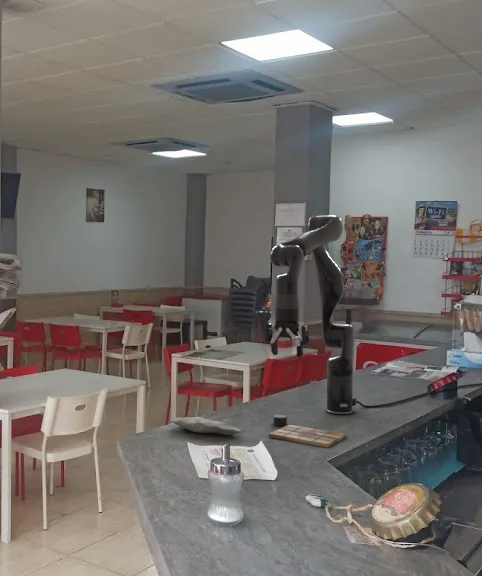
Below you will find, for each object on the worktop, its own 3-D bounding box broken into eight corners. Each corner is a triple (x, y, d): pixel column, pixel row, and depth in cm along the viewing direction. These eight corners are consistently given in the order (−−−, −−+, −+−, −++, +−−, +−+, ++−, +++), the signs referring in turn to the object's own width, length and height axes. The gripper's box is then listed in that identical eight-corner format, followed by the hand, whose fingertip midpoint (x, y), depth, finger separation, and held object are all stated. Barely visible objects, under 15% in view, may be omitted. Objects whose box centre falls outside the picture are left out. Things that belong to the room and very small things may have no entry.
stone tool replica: (163, 427, 242) (230, 438, 228) (165, 412, 243) (232, 422, 228) (184, 429, 254) (249, 439, 240) (186, 414, 255) (251, 424, 241)
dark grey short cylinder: (277, 422, 254) (277, 413, 254) (289, 424, 251) (289, 415, 251) (271, 425, 250) (271, 416, 250) (283, 427, 247) (283, 418, 247)
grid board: (289, 427, 247) (289, 424, 247) (345, 437, 234) (345, 433, 234) (268, 437, 235) (268, 433, 235) (327, 447, 223) (327, 443, 223)
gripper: (312, 306, 232) (312, 356, 233) (272, 304, 241) (272, 352, 242) (302, 308, 226) (302, 359, 227) (261, 306, 235) (261, 355, 237)
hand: (286, 355), depth 235 cm, fingers open, 8 cm apart
